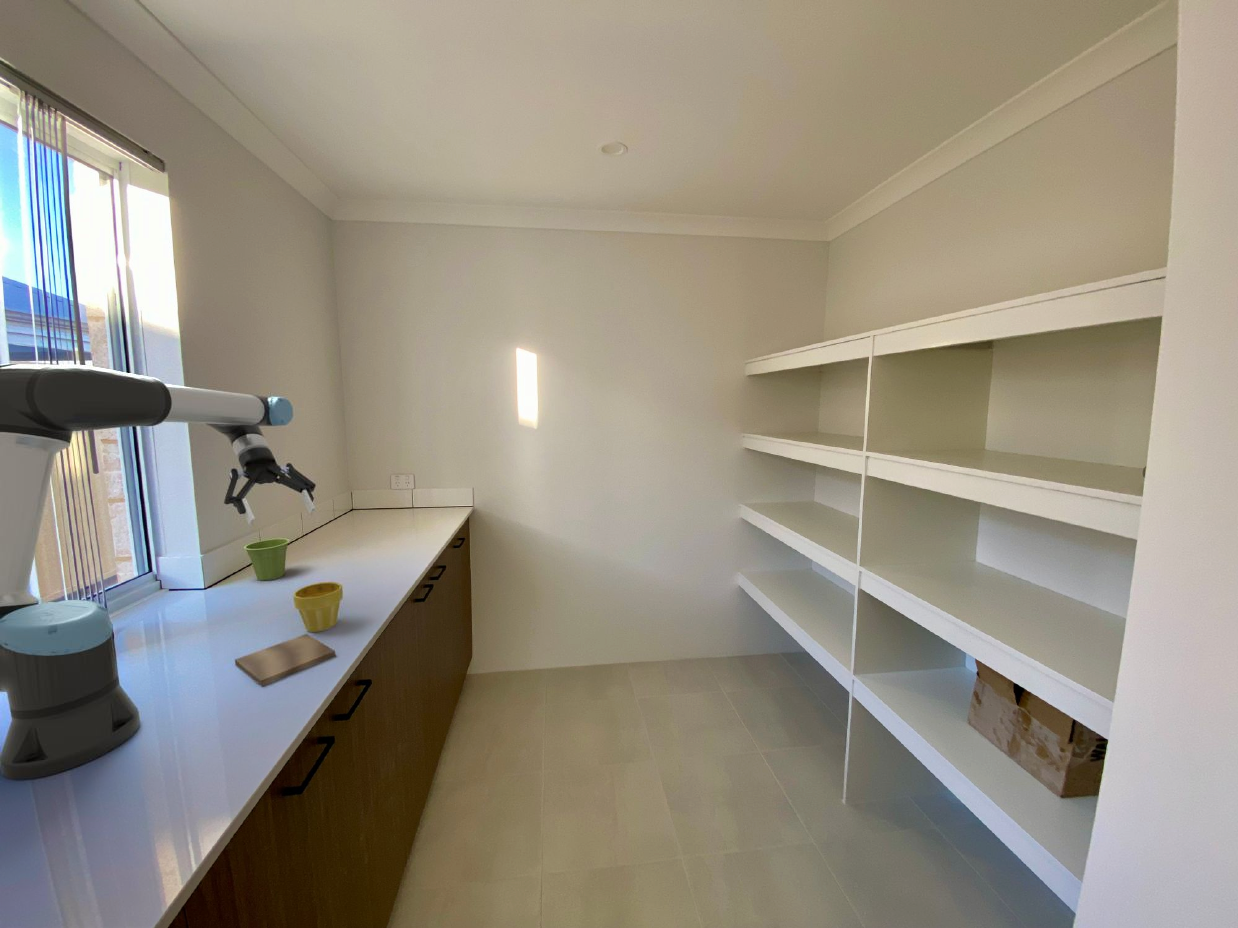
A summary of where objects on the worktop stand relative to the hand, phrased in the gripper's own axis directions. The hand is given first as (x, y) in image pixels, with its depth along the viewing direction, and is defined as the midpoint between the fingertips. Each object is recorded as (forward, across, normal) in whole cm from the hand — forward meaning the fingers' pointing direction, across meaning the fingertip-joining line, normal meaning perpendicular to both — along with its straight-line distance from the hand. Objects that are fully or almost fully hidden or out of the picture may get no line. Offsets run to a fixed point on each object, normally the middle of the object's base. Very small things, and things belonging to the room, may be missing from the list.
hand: (283, 516), depth 123 cm
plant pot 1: (-8, -8, -47) cm, 48 cm away
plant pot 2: (+28, -1, -10) cm, 30 cm away
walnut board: (+36, +11, -2) cm, 37 cm away
